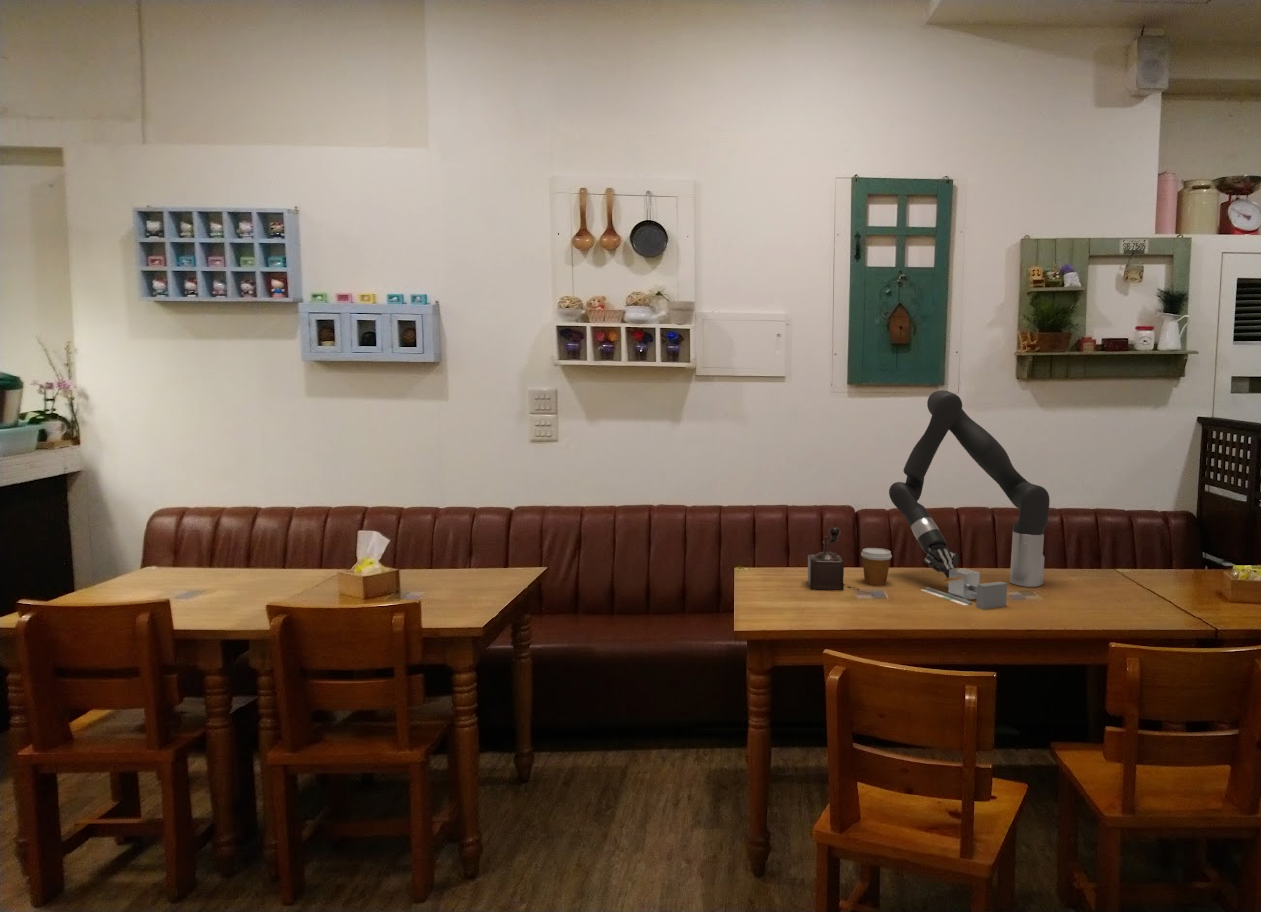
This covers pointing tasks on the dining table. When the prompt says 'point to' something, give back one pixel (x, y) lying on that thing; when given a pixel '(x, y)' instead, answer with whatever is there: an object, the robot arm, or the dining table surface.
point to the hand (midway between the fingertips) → (955, 581)
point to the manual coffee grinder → (826, 566)
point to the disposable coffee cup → (876, 565)
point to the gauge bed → (979, 595)
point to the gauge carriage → (963, 583)
